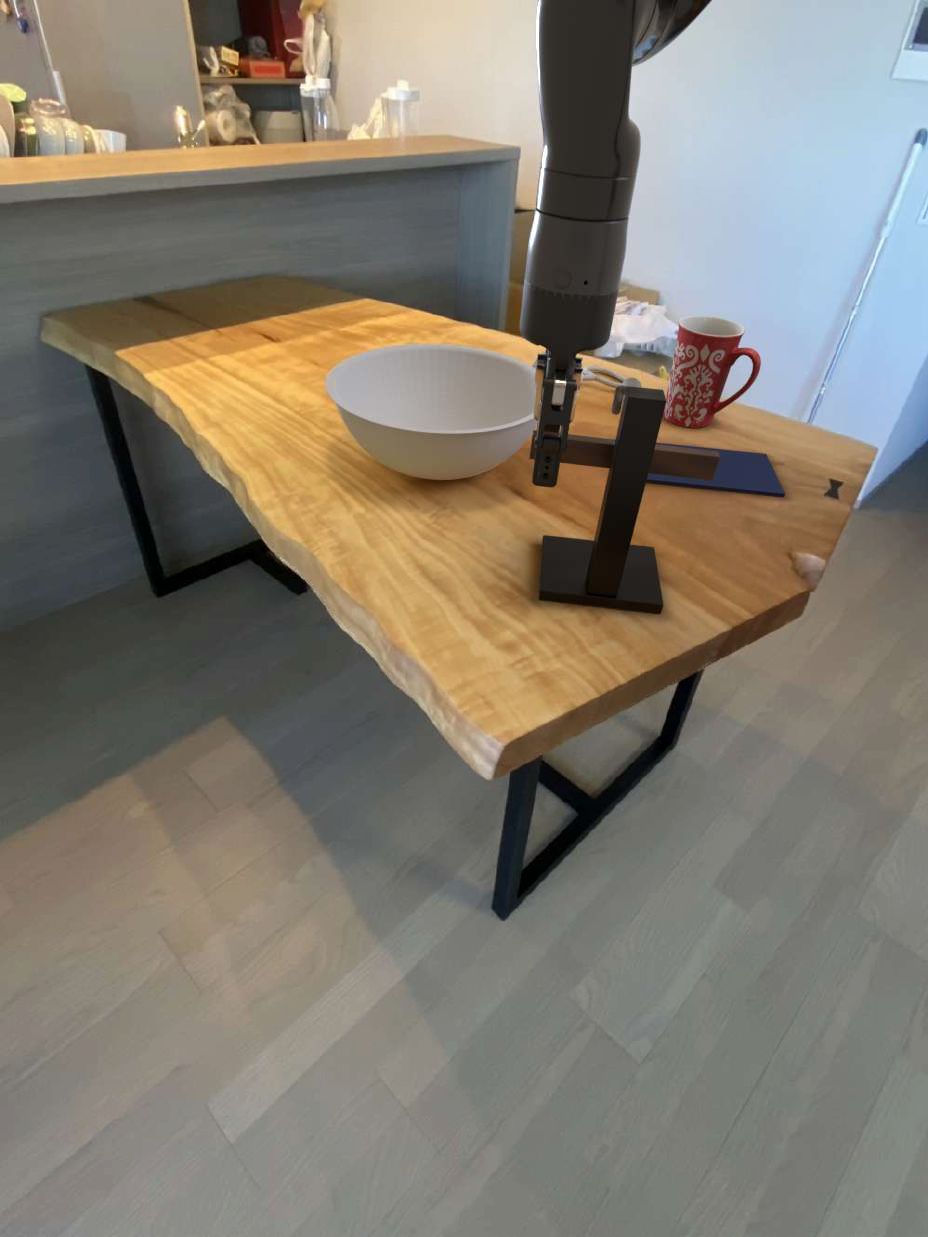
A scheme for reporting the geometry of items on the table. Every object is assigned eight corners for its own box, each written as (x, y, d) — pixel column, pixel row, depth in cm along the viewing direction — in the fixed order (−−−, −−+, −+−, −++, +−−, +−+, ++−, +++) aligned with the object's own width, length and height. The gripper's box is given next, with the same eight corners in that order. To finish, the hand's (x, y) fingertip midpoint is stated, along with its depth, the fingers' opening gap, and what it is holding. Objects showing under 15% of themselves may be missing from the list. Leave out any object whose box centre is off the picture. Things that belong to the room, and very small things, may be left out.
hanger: (710, 474, 64) (736, 395, 59) (712, 480, 63) (739, 401, 59) (529, 453, 65) (540, 373, 60) (529, 459, 64) (540, 379, 59)
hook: (506, 386, 107) (596, 383, 118) (543, 408, 102) (635, 403, 112) (516, 337, 103) (609, 339, 114) (556, 358, 97) (650, 358, 108)
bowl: (378, 534, 75) (375, 450, 69) (303, 430, 93) (296, 356, 87) (584, 488, 85) (599, 411, 79) (481, 403, 103) (486, 334, 97)
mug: (644, 415, 103) (666, 322, 94) (675, 400, 108) (699, 310, 99) (720, 446, 97) (751, 348, 88) (750, 428, 102) (782, 334, 93)
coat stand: (651, 553, 75) (705, 360, 62) (660, 614, 67) (725, 408, 54) (541, 541, 76) (571, 347, 62) (538, 600, 68) (571, 392, 54)
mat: (765, 456, 95) (766, 453, 94) (784, 497, 86) (785, 493, 86) (619, 441, 96) (620, 438, 96) (624, 480, 88) (624, 476, 87)
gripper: (625, 308, 49) (586, 506, 59) (615, 259, 60) (583, 434, 70) (520, 298, 49) (499, 496, 60) (529, 251, 60) (510, 426, 71)
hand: (545, 462), depth 65 cm, fingers open, 8 cm apart
